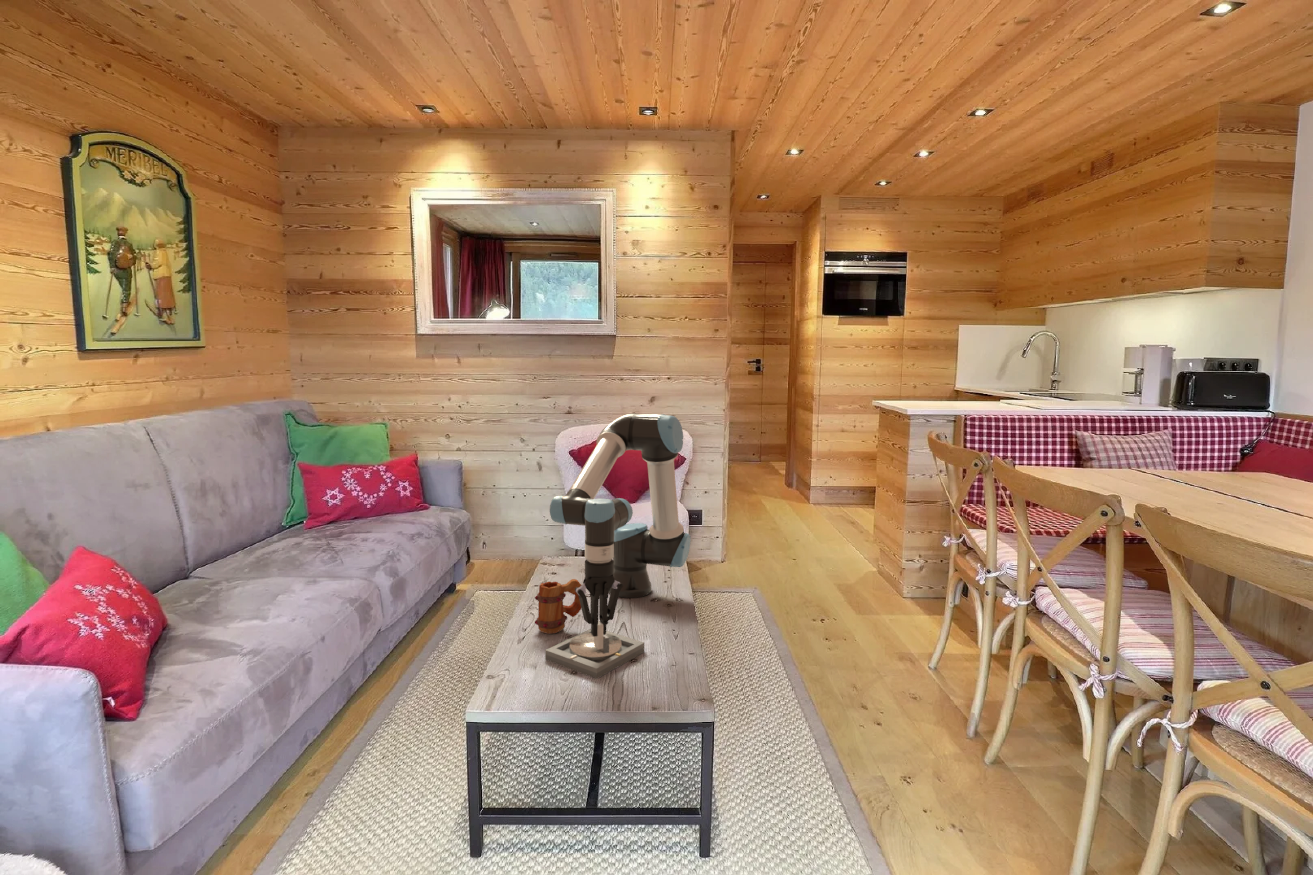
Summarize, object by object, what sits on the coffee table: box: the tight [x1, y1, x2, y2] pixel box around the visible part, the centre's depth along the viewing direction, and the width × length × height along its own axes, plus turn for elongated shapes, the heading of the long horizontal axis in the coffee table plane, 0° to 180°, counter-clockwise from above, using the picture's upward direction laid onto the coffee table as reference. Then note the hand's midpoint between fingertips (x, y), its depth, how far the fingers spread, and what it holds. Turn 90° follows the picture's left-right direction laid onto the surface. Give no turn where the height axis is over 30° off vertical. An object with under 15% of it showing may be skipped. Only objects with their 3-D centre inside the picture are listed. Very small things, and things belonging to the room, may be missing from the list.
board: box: [544, 628, 645, 680], centre depth 185 cm, size 20×18×3 cm
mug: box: [534, 578, 582, 635], centre depth 202 cm, size 15×8×15 cm, turn 105°
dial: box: [570, 633, 622, 662], centre depth 185 cm, size 14×14×6 cm
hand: (598, 646), depth 180 cm, fingers closed
